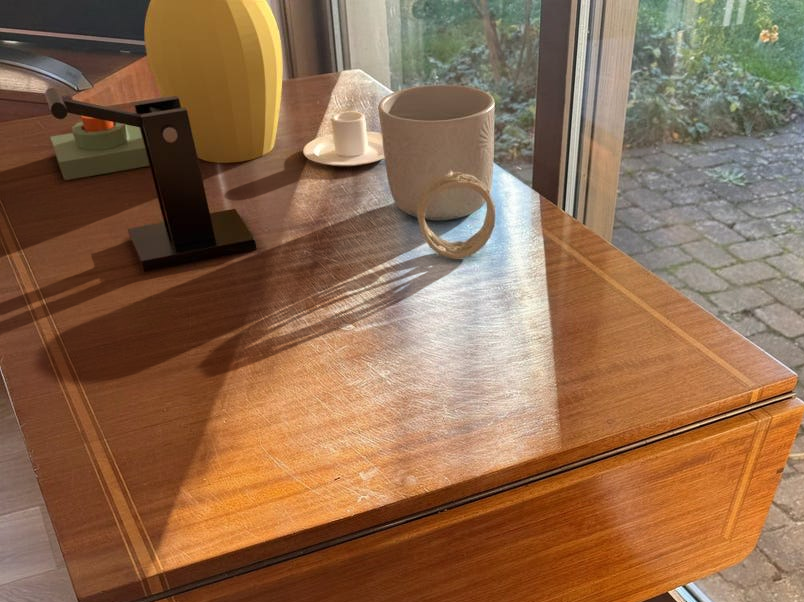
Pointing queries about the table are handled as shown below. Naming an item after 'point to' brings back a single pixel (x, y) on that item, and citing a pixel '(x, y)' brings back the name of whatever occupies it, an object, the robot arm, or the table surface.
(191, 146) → the bracket
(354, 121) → the candle holder
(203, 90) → the vase
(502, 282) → the table surface
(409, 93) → the planter
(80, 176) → the control block
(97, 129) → the button
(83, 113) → the lever
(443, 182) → the bracelet
